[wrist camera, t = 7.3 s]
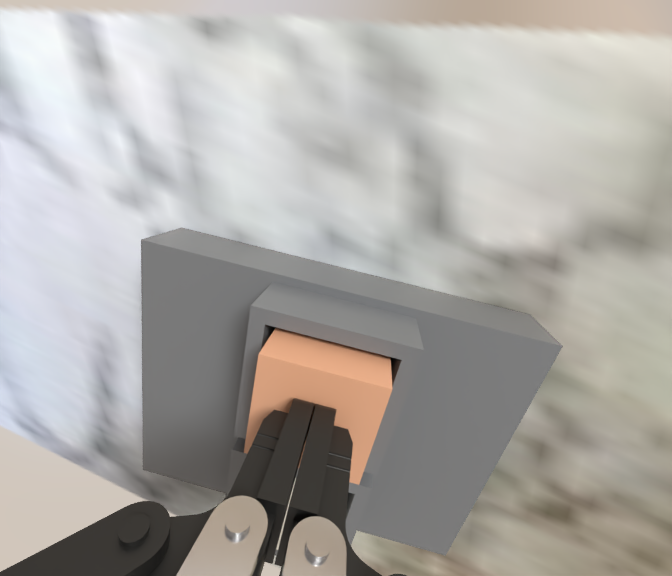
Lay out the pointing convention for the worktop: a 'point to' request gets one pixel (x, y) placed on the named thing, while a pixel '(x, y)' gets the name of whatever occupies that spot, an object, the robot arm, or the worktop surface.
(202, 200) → the worktop surface
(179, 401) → the push button base
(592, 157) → the worktop surface
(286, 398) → the peach key
